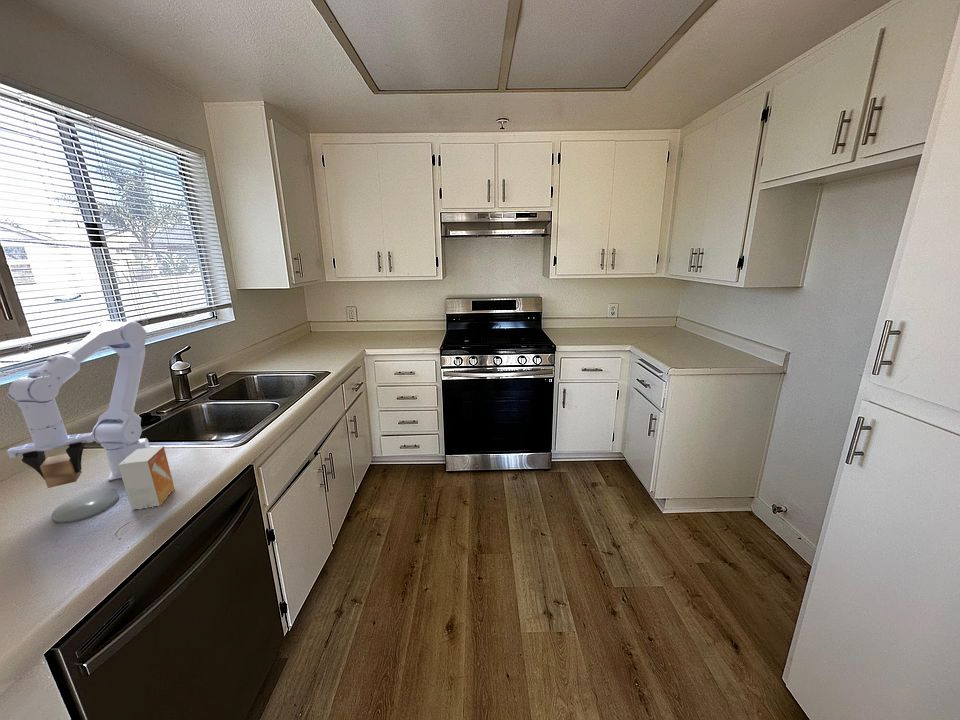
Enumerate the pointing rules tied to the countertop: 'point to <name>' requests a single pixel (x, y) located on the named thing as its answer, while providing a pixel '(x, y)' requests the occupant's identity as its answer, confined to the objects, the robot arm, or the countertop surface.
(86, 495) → the slate dish
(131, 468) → the small box
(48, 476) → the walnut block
